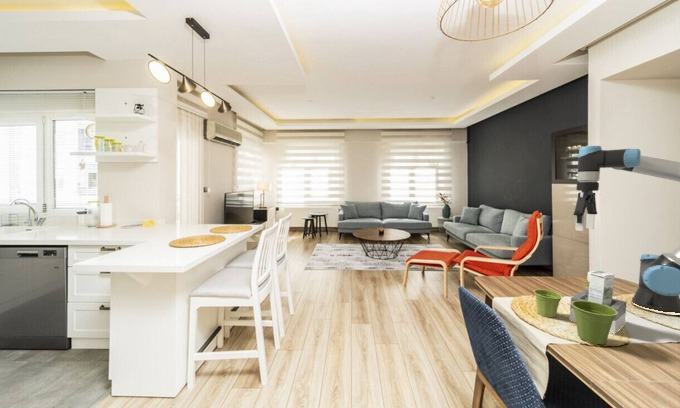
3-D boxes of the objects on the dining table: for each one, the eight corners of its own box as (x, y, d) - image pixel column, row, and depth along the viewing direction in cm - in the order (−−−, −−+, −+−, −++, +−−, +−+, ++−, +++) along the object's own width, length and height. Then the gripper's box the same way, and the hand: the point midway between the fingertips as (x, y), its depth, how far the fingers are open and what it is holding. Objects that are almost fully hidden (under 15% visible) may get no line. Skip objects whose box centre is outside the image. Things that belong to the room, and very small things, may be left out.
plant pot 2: (560, 330, 105) (562, 299, 104) (594, 331, 105) (597, 300, 104) (587, 349, 93) (590, 314, 93) (626, 350, 93) (628, 315, 92)
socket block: (581, 312, 121) (582, 291, 120) (624, 325, 110) (626, 301, 109) (569, 320, 113) (571, 297, 113) (614, 334, 103) (616, 309, 102)
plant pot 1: (562, 314, 119) (563, 293, 118) (559, 322, 112) (560, 300, 111) (535, 307, 125) (536, 287, 124) (530, 314, 118) (531, 293, 118)
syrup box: (593, 306, 115) (596, 269, 114) (611, 312, 110) (614, 273, 109) (584, 307, 113) (586, 270, 112) (602, 314, 108) (605, 275, 107)
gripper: (586, 182, 140) (583, 226, 141) (566, 181, 125) (563, 230, 127) (607, 182, 134) (604, 228, 135) (589, 181, 119) (585, 232, 121)
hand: (584, 229), depth 131 cm, fingers open, 13 cm apart
